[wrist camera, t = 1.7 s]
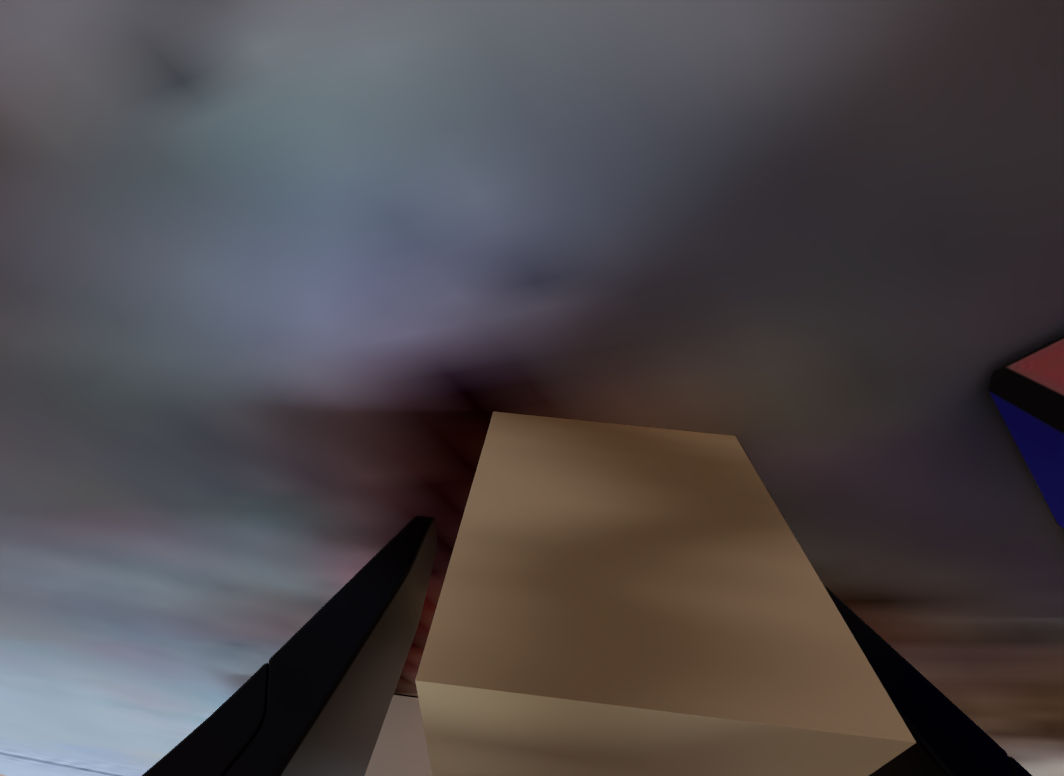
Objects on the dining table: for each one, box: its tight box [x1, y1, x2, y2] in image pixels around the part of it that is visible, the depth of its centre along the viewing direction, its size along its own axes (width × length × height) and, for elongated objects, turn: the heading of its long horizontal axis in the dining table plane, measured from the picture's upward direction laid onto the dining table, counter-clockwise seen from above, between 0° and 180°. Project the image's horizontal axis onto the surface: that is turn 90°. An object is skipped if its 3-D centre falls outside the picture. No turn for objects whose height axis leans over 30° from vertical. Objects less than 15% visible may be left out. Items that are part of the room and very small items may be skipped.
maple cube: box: [415, 411, 916, 776], centre depth 7 cm, size 5×5×5 cm
